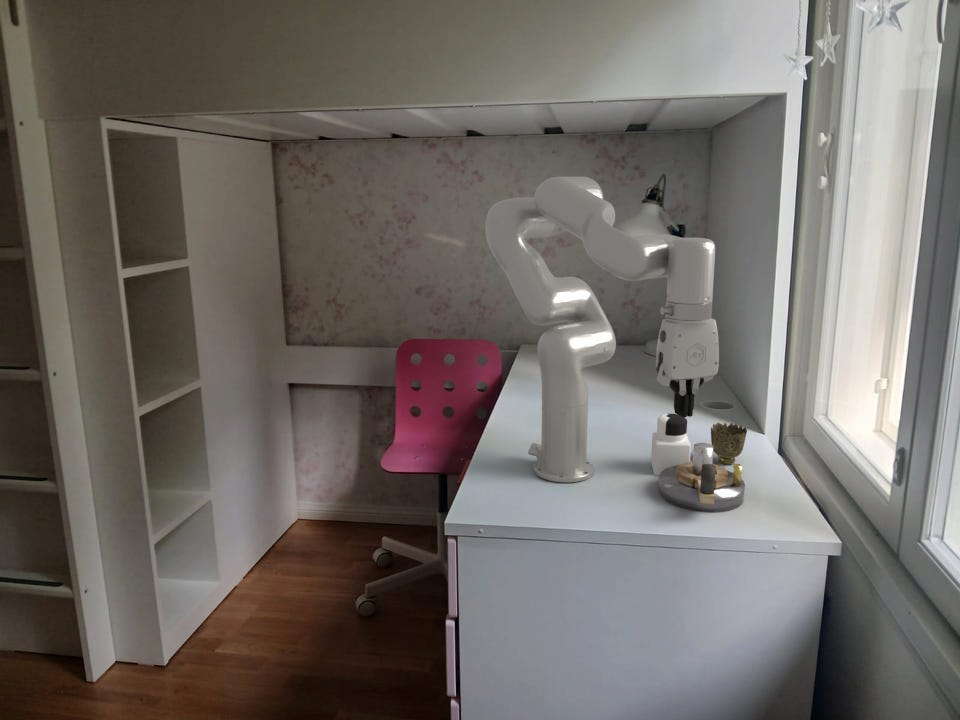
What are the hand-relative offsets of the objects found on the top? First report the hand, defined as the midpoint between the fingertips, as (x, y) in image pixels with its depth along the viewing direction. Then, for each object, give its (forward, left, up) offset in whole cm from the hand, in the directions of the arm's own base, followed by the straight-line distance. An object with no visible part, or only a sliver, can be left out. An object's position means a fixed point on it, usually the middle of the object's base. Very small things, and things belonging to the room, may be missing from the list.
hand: (683, 414), depth 127 cm
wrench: (0, +10, -17) cm, 19 cm away
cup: (-4, +32, -20) cm, 38 cm away
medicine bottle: (-12, +20, -20) cm, 31 cm away
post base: (-1, +13, -20) cm, 24 cm away
